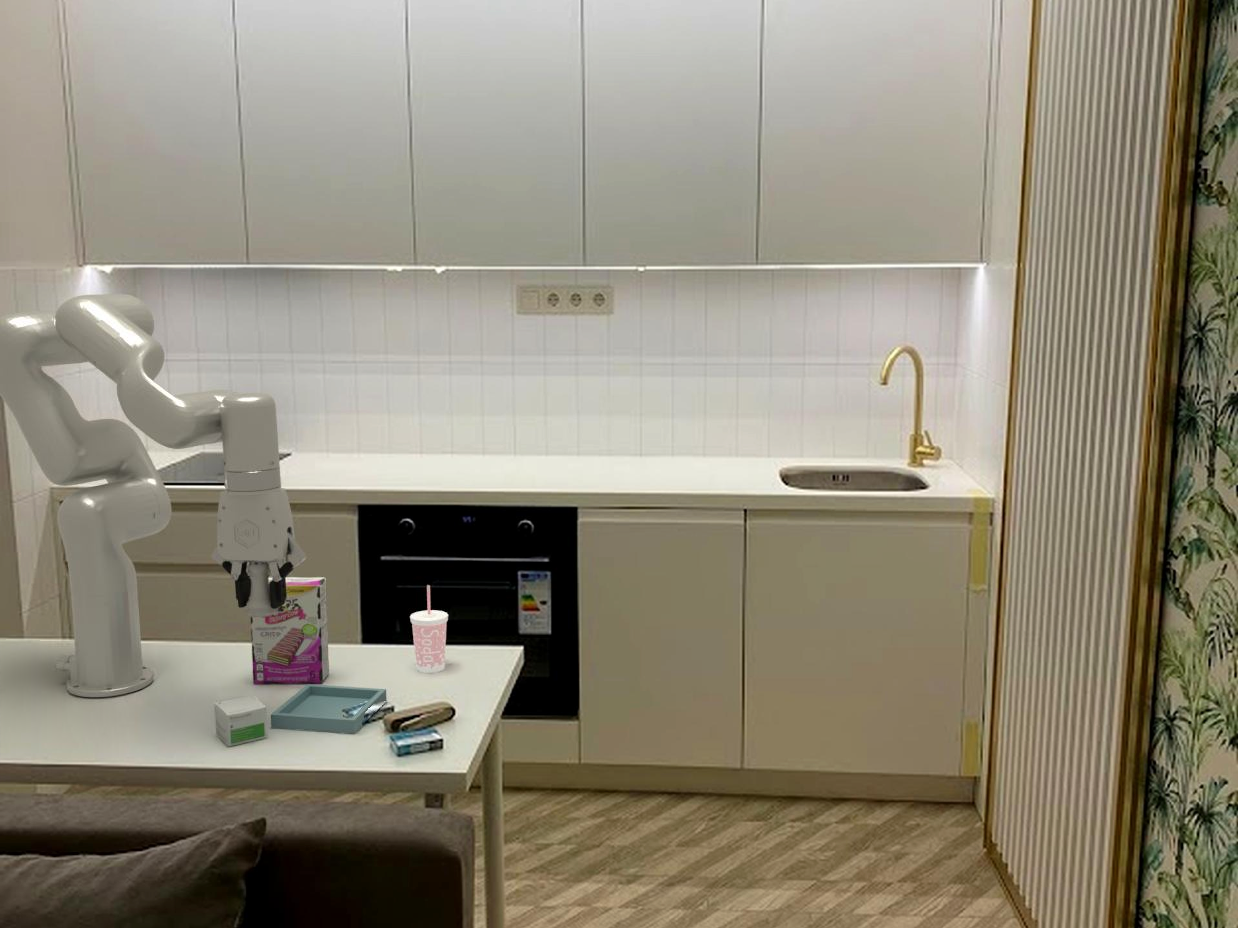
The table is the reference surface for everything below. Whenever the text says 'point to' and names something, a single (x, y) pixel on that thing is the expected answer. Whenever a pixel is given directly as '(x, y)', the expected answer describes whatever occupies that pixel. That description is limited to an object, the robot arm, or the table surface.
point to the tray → (325, 708)
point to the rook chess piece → (259, 591)
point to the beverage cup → (429, 638)
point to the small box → (240, 720)
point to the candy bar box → (293, 636)
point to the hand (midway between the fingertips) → (261, 604)
